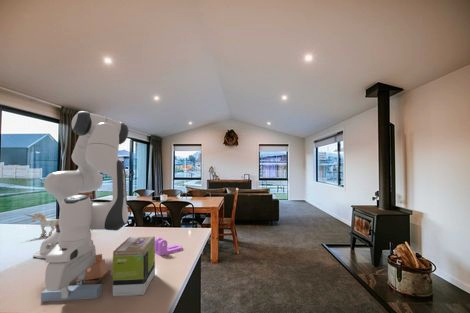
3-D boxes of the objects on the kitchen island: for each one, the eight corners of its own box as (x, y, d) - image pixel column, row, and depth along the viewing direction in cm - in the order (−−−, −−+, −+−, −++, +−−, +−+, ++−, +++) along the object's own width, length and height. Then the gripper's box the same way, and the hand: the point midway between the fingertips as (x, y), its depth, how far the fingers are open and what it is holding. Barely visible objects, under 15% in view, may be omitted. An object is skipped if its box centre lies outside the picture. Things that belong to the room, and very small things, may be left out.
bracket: (159, 256, 111) (160, 241, 111) (154, 253, 115) (154, 238, 115) (184, 249, 119) (184, 235, 120) (178, 246, 123) (178, 233, 124)
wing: (40, 302, 73) (41, 292, 73) (48, 296, 77) (48, 286, 77) (96, 299, 75) (97, 289, 75) (101, 293, 79) (101, 284, 79)
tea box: (128, 275, 91) (129, 236, 91) (155, 274, 92) (156, 235, 92) (111, 297, 76) (112, 249, 76) (143, 296, 77) (144, 249, 77)
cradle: (55, 287, 82) (56, 281, 82) (70, 276, 89) (70, 271, 89) (100, 286, 83) (100, 280, 83) (110, 276, 90) (110, 270, 90)
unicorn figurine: (31, 234, 143) (32, 212, 144) (67, 233, 147) (67, 211, 147) (22, 238, 136) (23, 214, 137) (60, 236, 140) (61, 213, 140)
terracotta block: (66, 284, 84) (63, 262, 84) (73, 278, 88) (70, 258, 88) (101, 277, 85) (98, 256, 85) (106, 272, 89) (103, 252, 89)
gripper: (83, 237, 87) (82, 276, 86) (40, 259, 67) (39, 310, 66) (101, 237, 87) (100, 275, 87) (64, 258, 67) (62, 309, 66)
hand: (73, 290), depth 76 cm, fingers open, 6 cm apart
